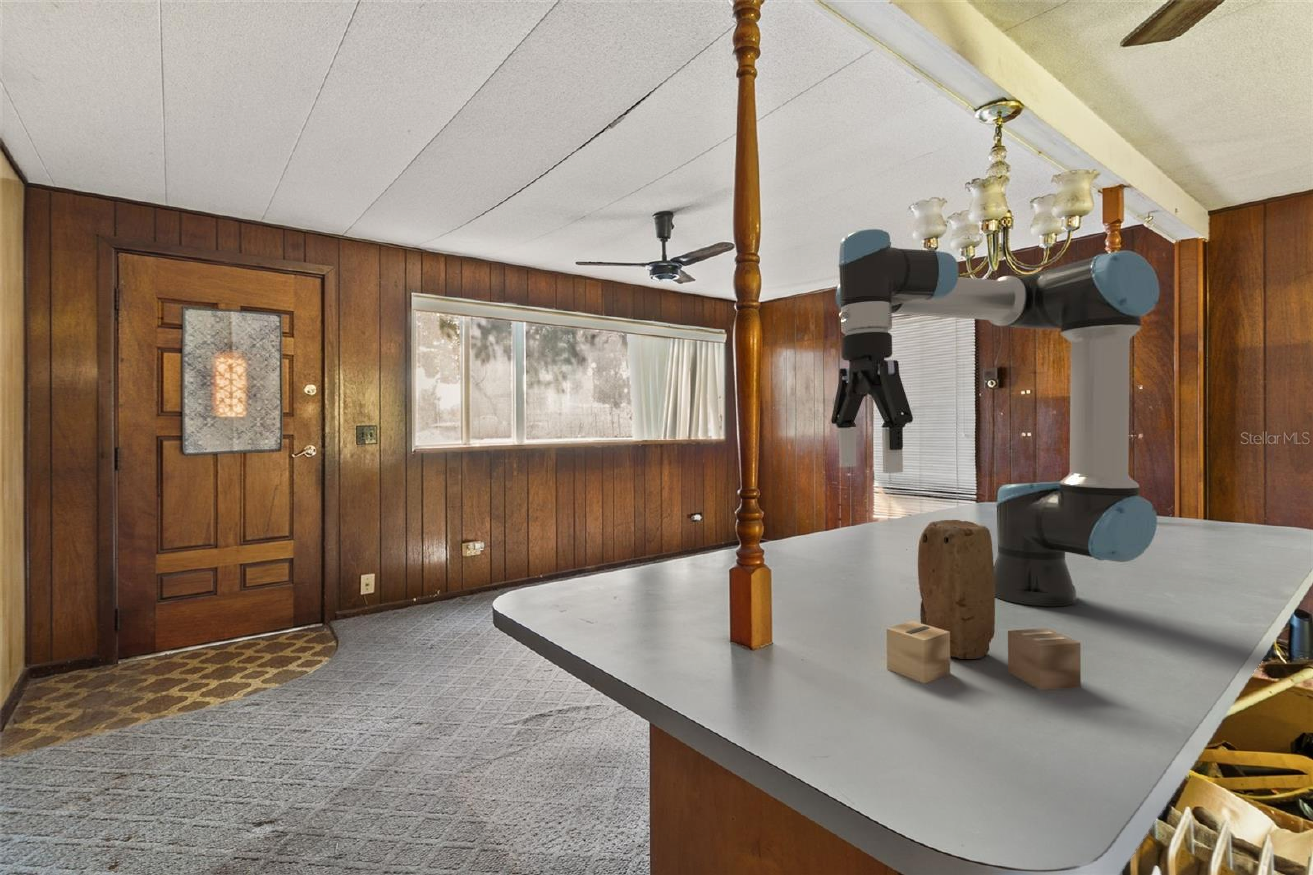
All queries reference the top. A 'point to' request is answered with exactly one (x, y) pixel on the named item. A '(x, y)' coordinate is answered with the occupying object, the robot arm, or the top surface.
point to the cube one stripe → (918, 651)
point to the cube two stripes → (1044, 658)
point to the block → (958, 584)
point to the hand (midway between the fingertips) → (868, 469)
